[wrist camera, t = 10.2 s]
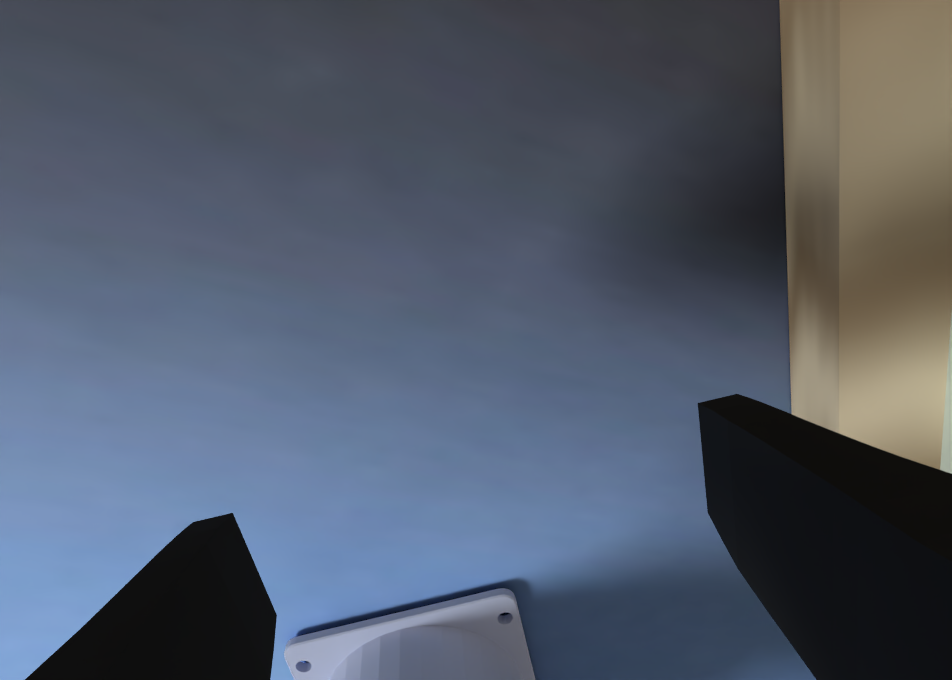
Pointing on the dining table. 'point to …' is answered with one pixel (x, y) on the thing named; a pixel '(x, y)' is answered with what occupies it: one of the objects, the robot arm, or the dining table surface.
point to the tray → (948, 416)
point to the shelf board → (869, 217)
